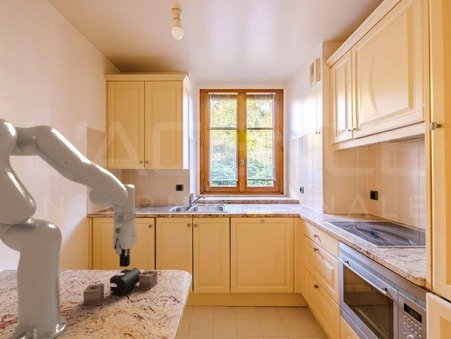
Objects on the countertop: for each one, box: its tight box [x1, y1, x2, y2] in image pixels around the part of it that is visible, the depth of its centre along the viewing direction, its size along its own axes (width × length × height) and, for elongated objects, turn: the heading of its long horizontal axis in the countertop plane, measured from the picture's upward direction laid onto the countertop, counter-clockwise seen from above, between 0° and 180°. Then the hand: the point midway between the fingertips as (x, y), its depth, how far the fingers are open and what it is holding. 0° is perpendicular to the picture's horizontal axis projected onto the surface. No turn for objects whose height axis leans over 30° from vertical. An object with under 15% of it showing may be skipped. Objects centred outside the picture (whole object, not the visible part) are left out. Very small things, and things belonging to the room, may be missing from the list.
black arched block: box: [109, 267, 142, 297], centre depth 96 cm, size 10×7×7 cm
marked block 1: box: [82, 283, 105, 308], centre depth 88 cm, size 5×5×5 cm
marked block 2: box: [138, 269, 158, 290], centre depth 99 cm, size 5×5×5 cm
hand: (124, 265), depth 96 cm, fingers closed
